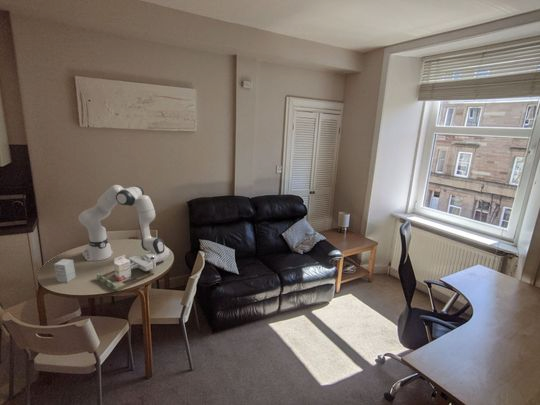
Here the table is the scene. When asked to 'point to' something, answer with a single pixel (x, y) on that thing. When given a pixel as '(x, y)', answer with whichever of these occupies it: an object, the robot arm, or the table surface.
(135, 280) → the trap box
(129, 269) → the ink cartridge box
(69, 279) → the supplement box
